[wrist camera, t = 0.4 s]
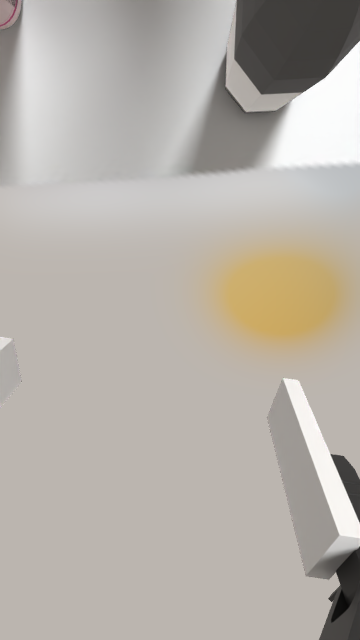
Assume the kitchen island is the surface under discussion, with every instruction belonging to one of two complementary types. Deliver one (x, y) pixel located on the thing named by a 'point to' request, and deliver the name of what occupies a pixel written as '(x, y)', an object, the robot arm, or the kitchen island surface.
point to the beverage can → (9, 12)
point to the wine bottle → (286, 48)
